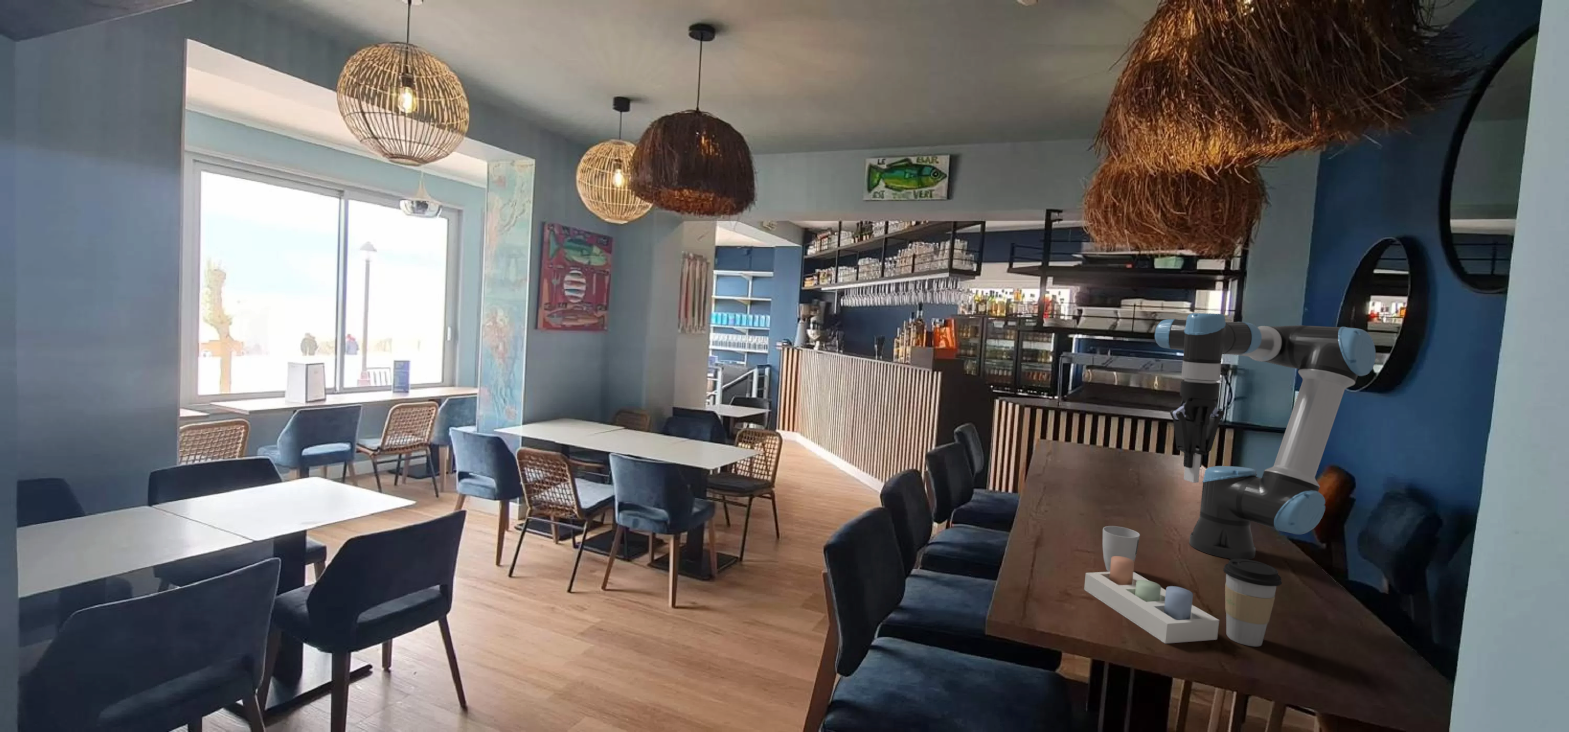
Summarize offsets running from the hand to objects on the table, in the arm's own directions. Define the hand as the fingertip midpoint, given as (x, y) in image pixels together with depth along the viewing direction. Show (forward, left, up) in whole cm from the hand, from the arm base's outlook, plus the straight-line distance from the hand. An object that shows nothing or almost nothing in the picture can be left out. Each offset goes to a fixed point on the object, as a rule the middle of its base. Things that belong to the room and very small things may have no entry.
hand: (1191, 480), depth 154 cm
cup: (+10, -9, -25) cm, 29 cm away
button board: (+20, +12, -25) cm, 34 cm away
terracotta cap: (+20, +4, -22) cm, 30 cm away
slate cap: (+20, +20, -22) cm, 35 cm away
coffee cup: (+8, +24, -25) cm, 36 cm away
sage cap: (+20, +12, -24) cm, 33 cm away
